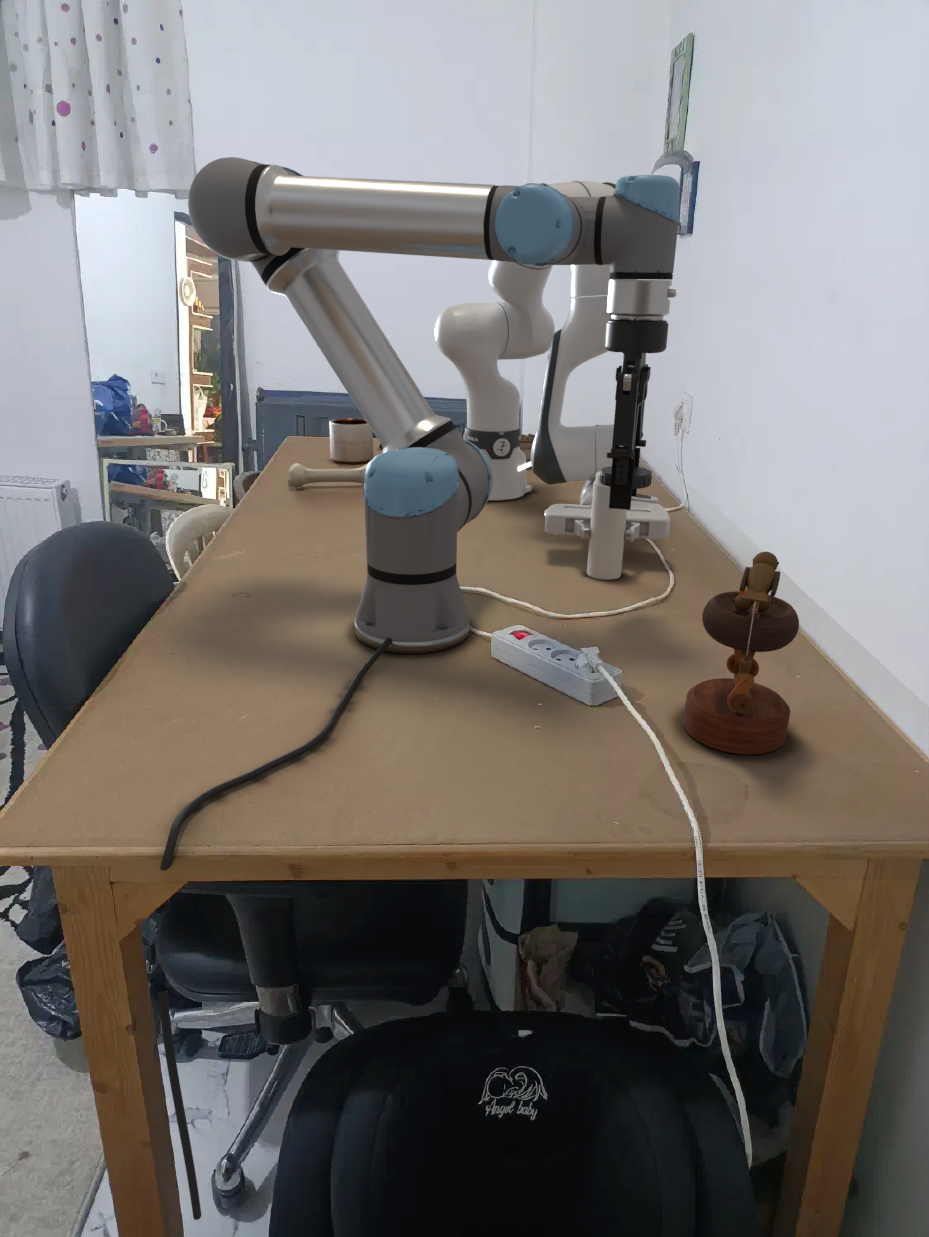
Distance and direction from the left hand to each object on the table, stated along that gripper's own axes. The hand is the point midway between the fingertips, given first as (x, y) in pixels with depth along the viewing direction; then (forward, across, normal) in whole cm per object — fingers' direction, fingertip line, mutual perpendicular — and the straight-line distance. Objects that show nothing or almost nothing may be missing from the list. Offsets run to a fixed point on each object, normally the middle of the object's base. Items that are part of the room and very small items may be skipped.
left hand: (623, 501), depth 112 cm
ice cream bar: (+16, +104, +36) cm, 111 cm away
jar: (+17, +18, +4) cm, 25 cm away
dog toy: (+16, +58, +69) cm, 91 cm away
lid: (-4, 0, 0) cm, 4 cm away
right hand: (+10, +18, +4) cm, 21 cm away
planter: (+16, +85, +77) cm, 116 cm away
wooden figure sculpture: (+17, -27, -16) cm, 36 cm away
